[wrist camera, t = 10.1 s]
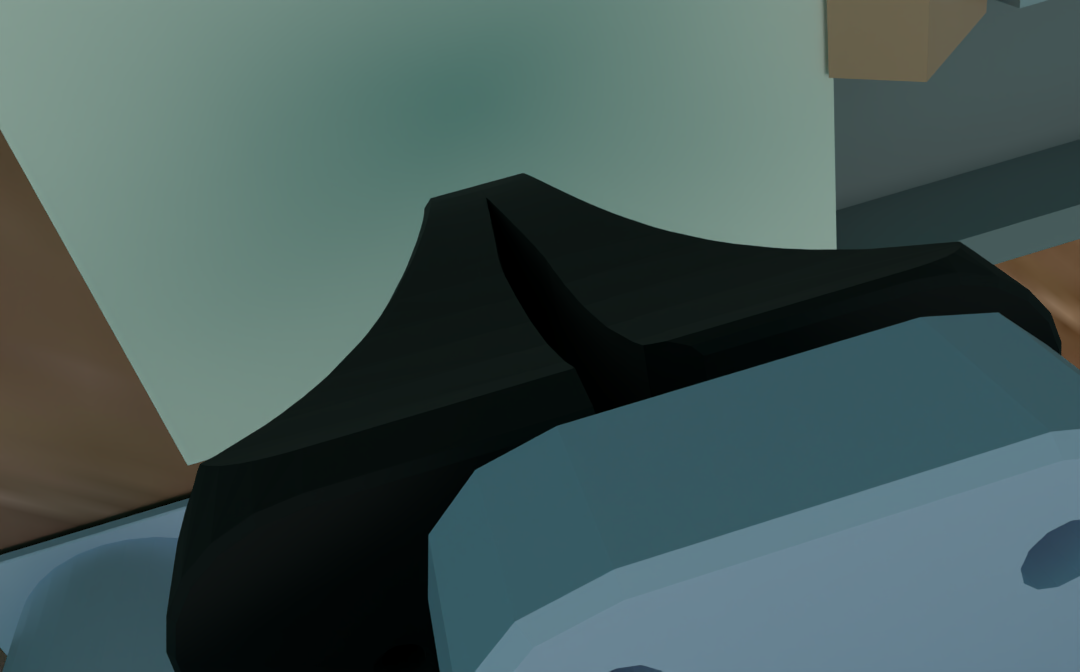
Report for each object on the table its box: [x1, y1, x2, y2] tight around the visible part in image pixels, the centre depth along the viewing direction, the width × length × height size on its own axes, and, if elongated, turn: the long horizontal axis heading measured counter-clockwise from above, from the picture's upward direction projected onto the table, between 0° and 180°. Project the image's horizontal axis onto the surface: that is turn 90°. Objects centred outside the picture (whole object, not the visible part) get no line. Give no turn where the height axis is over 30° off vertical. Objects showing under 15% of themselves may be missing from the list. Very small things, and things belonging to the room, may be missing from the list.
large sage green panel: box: [0, 0, 837, 465], centre depth 19 cm, size 14×16×3 cm
